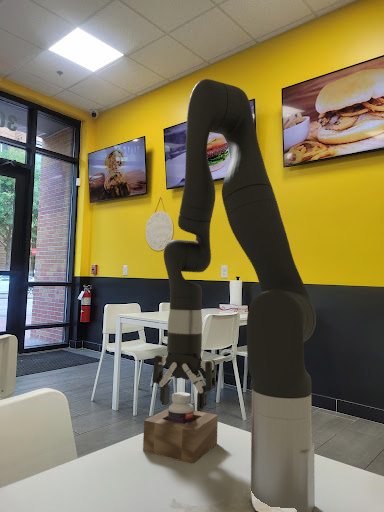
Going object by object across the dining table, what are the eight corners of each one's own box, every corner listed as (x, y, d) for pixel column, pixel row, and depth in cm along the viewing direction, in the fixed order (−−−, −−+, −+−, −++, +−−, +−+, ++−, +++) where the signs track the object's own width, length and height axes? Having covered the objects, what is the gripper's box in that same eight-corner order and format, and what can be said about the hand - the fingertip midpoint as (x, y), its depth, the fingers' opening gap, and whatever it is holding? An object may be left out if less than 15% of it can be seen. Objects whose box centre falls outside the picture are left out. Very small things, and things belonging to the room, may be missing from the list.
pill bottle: (189, 447, 76) (189, 398, 77) (164, 445, 77) (165, 396, 78) (196, 438, 81) (196, 392, 82) (172, 436, 82) (173, 390, 83)
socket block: (217, 443, 81) (217, 414, 82) (193, 463, 71) (194, 430, 72) (171, 433, 87) (172, 406, 87) (142, 450, 76) (144, 420, 77)
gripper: (221, 331, 82) (219, 408, 80) (165, 327, 88) (163, 398, 86) (207, 334, 75) (205, 417, 73) (148, 329, 81) (144, 406, 80)
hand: (182, 407), depth 80 cm, fingers open, 8 cm apart
